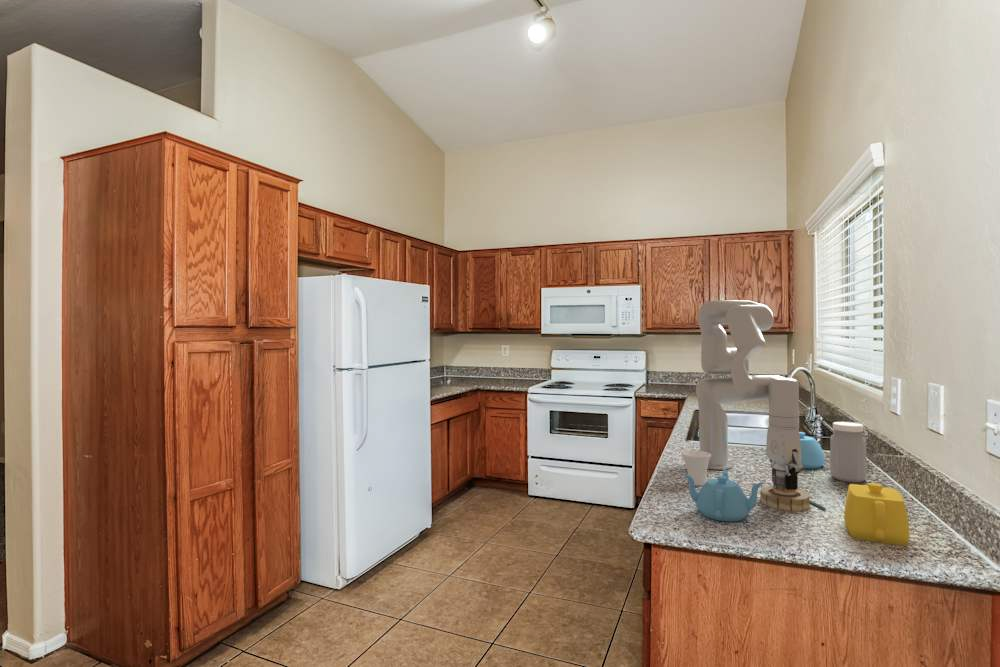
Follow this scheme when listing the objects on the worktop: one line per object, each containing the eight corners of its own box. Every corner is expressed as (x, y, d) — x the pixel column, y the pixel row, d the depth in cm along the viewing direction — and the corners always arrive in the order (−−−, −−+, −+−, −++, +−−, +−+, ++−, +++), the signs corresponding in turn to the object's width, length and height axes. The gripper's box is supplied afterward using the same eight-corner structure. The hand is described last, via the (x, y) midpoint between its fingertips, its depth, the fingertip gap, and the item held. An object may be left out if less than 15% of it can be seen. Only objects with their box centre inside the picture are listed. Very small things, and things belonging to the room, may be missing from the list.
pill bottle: (775, 488, 151) (775, 454, 151) (798, 492, 147) (797, 456, 147) (771, 493, 146) (770, 457, 146) (794, 497, 143) (793, 460, 143)
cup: (696, 478, 173) (695, 448, 172) (717, 485, 164) (717, 454, 164) (675, 481, 169) (674, 450, 169) (696, 489, 160) (696, 457, 160)
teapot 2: (840, 514, 138) (840, 470, 138) (898, 522, 132) (898, 476, 132) (848, 541, 120) (848, 491, 120) (916, 552, 115) (915, 498, 114)
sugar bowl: (768, 462, 192) (767, 430, 192) (795, 457, 199) (795, 427, 199) (807, 471, 179) (806, 438, 179) (834, 466, 185) (834, 434, 185)
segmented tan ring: (752, 496, 153) (752, 486, 153) (792, 496, 153) (792, 485, 153) (775, 511, 141) (775, 500, 141) (818, 510, 141) (818, 499, 141)
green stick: (795, 495, 154) (795, 493, 154) (798, 495, 154) (798, 493, 154) (823, 510, 141) (823, 508, 141) (826, 510, 141) (826, 507, 141)
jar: (842, 473, 176) (841, 420, 176) (873, 480, 168) (872, 424, 168) (823, 477, 172) (823, 422, 172) (854, 484, 163) (854, 427, 163)
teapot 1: (715, 528, 130) (715, 487, 130) (680, 507, 144) (680, 470, 144) (765, 522, 133) (765, 482, 133) (725, 502, 148) (725, 466, 148)
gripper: (754, 417, 155) (755, 477, 155) (788, 427, 138) (789, 495, 138) (779, 416, 156) (780, 477, 156) (816, 427, 138) (817, 495, 138)
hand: (784, 485), depth 147 cm, fingers closed on pill bottle, 5 cm apart
